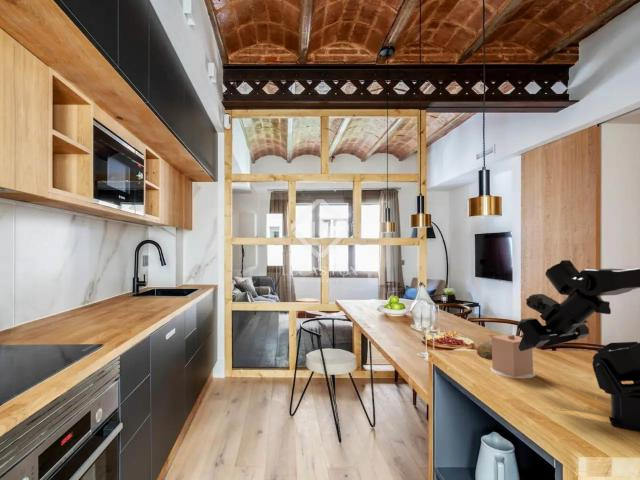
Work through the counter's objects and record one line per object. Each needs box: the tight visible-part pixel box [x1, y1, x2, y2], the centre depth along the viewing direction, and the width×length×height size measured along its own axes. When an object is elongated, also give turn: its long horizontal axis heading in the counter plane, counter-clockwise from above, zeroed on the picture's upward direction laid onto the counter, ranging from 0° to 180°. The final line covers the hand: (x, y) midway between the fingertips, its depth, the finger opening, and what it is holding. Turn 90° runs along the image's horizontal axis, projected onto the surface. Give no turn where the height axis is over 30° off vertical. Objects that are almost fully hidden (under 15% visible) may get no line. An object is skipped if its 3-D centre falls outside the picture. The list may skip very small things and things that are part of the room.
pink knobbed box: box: [491, 333, 534, 377], centre depth 97 cm, size 7×7×10 cm
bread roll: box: [476, 338, 492, 360], centre depth 112 cm, size 10×10×8 cm
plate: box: [490, 366, 537, 379], centre depth 97 cm, size 11×11×1 cm
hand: (532, 347), depth 92 cm, fingers open, 9 cm apart
